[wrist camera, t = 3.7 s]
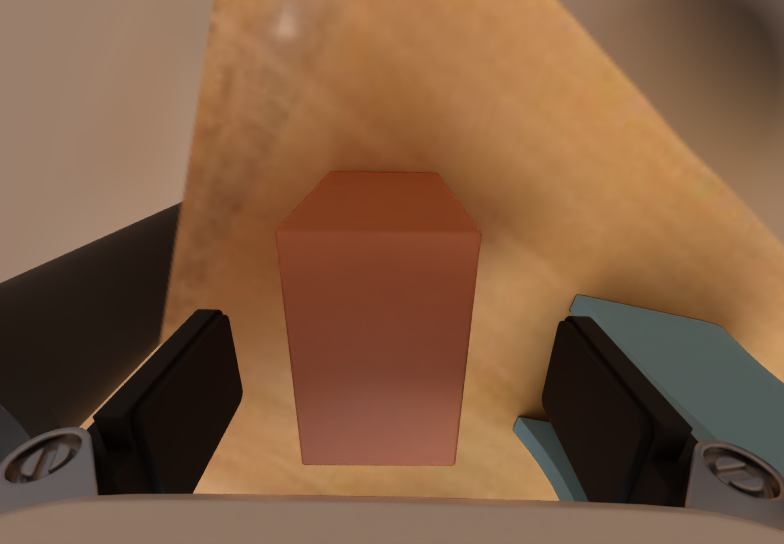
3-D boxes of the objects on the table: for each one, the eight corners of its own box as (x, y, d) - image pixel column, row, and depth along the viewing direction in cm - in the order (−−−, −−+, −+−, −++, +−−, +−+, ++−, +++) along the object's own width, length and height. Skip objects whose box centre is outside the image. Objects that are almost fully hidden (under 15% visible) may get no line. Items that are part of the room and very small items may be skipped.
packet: (337, 321, 20) (301, 466, 12) (329, 171, 17) (273, 229, 9) (428, 322, 20) (455, 467, 12) (438, 172, 17) (482, 232, 9)
